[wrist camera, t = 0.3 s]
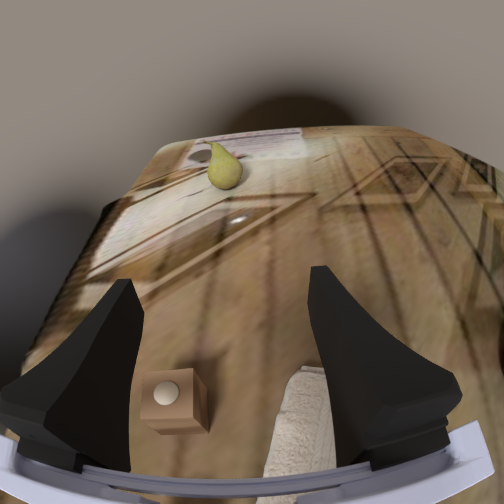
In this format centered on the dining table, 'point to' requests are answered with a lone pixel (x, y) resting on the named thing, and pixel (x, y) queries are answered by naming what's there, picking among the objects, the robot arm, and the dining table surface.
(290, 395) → the washcloth
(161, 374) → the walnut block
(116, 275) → the dining table surface
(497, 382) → the dining table surface
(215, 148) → the fruit
